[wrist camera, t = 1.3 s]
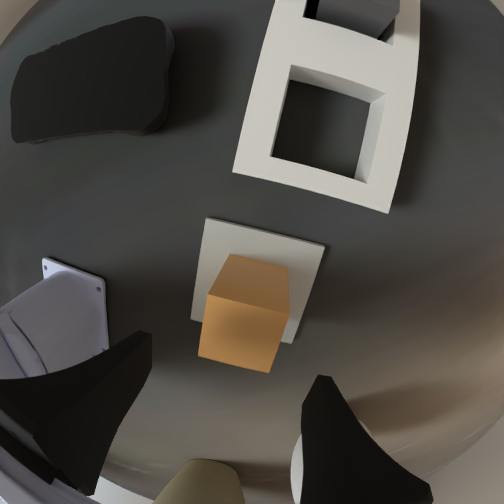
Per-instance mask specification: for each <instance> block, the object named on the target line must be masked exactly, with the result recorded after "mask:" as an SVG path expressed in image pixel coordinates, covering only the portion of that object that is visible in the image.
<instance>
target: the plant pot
mask: <svg viewBox="0 0 504 504" xmlns="http://www.w3.org/2000/svg"><path fill="white" fill-rule="evenodd" d="M152 504H245V499H244V495H243V491H242V488H241V485H240V481H239V478H238V475H237V472H236V471H235V470H234V469H233V468H232V467H230V466H228V465H226V464H223V463H220V462H217V461H213V460H207V459H194V460H190V461H188V462H187V463H186V464H185V465H184V466H183V468H182V469H181V470H180V471H179V472H178V473H177V474H176V475H175V476H174V477H173V479H172V480H171V481H170V482H169V483H168V484H167V486H166V487H165V488H164V489H163V490H162V492H161V493H160V494H159V495H158V497H157V498H156V499H155V501H154V502H153V503H152Z"/></svg>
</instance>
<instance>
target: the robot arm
mask: <svg viewBox="0 0 504 504" xmlns="http://www.w3.org/2000/svg"><path fill="white" fill-rule="evenodd" d="M42 264H43V274H44V280H42V281H40V282H39V283H37V284H36V285H34V286H33V287H31V288H29V289H28V290H26V291H25V292H23V293H22V294H20V295H19V296H17V297H16V298H14V299H13V300H11V301H10V302H8V303H7V304H6V305H4V306H3V307H1V308H0V498H1V499H2V500H3V501H4V502H5V503H6V504H100V503H98V502H96V501H94V500H92V499H91V498H89V497H87V496H91V495H94V492H95V489H96V485H97V482H98V478H99V475H100V472H101V469H102V466H103V464H104V461H105V458H106V456H107V453H108V450H109V448H110V446H111V443H112V441H113V438H114V436H115V434H116V432H117V429H118V427H119V425H120V424H121V422H122V420H123V418H124V417H125V415H126V414H127V412H128V410H129V409H130V407H131V406H132V404H133V402H134V401H135V399H136V397H137V396H138V394H139V393H140V391H141V389H142V388H143V386H144V384H145V382H146V380H147V377H148V375H149V373H150V371H151V368H152V334H149V333H146V332H143V331H141V330H139V331H137V332H135V333H134V334H132V335H130V336H129V337H127V338H125V339H124V340H122V341H121V342H119V343H117V344H116V345H114V346H112V347H110V348H109V339H108V328H107V314H106V295H105V282H104V280H103V279H102V278H100V277H97V276H95V275H92V274H89V273H86V272H84V271H81V270H78V269H76V268H73V267H70V266H68V265H65V264H63V263H60V262H58V261H55V260H53V259H50V258H48V257H45V258H43V260H42ZM99 287H100V289H101V290H100V289H99ZM301 435H302V453H303V479H302V490H301V498H300V504H432V502H433V496H432V492H431V489H430V485H429V484H428V483H426V482H425V481H423V480H421V479H420V478H418V477H416V476H415V475H413V474H411V473H410V472H409V471H407V470H406V469H404V468H403V467H402V466H400V465H399V464H398V463H397V462H395V461H394V460H393V459H392V458H391V457H390V456H389V455H388V454H387V453H385V452H384V451H383V450H382V449H381V448H380V447H379V446H378V444H377V443H376V442H375V441H374V440H373V439H372V438H371V437H370V435H369V434H368V433H367V432H366V430H365V429H364V428H363V426H362V425H361V424H360V422H359V421H358V420H357V418H356V417H355V415H354V414H353V412H352V411H351V409H350V407H349V406H348V404H347V403H346V401H345V399H344V398H343V396H342V394H341V393H340V391H339V389H338V387H337V386H336V384H335V382H334V381H333V379H332V377H330V376H323V375H317V377H316V379H315V381H314V383H313V385H312V387H311V389H310V391H309V393H308V395H307V397H306V398H305V400H304V402H303V404H302V415H301ZM74 489H75V490H74ZM81 493H82V494H81Z"/></svg>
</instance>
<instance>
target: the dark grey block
mask: <svg viewBox="0 0 504 504" xmlns="http://www.w3.org/2000/svg"><path fill="white" fill-rule="evenodd" d="M399 10H400V0H319V4H318V9H317V14H316V18H315V20H317V21H321V22H325V23H328V24H332V25H336V26H339V27H342V28H346V29H349V30H352V31H355V32H358V33H361V34H364V35H367V36H369V37H372V38H375V39H377V38H378V37H379V36H380V35H381V33H382V32H383V31H384V30H385V28H386V27H387V26H388V25H389V24H390V23H391V21H392V20H393V19H394V18H395V17H396V15H397V14H398V13H399Z"/></svg>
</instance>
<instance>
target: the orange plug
mask: <svg viewBox="0 0 504 504" xmlns="http://www.w3.org/2000/svg"><path fill="white" fill-rule="evenodd" d="M289 315H290V307H289V283H288V268H286V267H282V266H278V265H274V264H270V263H266V262H261V261H257V260H253V259H249V258H245V257H241V256H237V255H233V254H229V256H228V258H227V259H226V261H225V263H224V265H223V267H222V268H221V270H220V272H219V274H218V276H217V278H216V279H215V281H214V283H213V285H212V287H211V289H210V290H209V292H208V294H207V300H206V306H205V312H204V318H203V325H202V331H201V338H200V344H199V351H198V356H201V357H204V358H208V359H212V360H215V361H219V362H223V363H227V364H231V365H235V366H239V367H243V368H248V369H252V370H257V371H261V372H266V373H269V371H270V369H271V366H272V363H273V361H274V358H275V355H276V352H277V350H278V347H279V344H280V341H281V338H282V335H283V333H284V330H285V327H286V324H287V321H288V318H289Z"/></svg>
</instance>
